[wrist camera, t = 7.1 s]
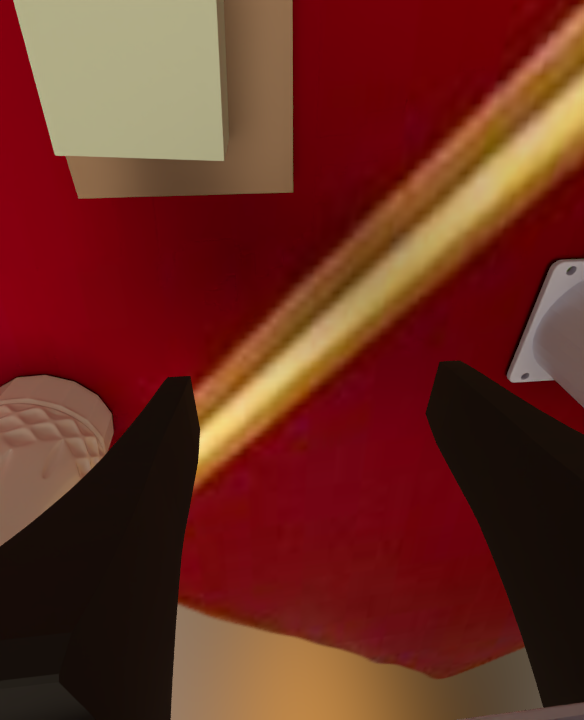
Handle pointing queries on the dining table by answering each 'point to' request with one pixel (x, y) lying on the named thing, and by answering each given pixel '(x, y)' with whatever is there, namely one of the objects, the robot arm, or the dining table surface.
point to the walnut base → (245, 115)
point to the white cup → (46, 445)
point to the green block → (130, 76)
